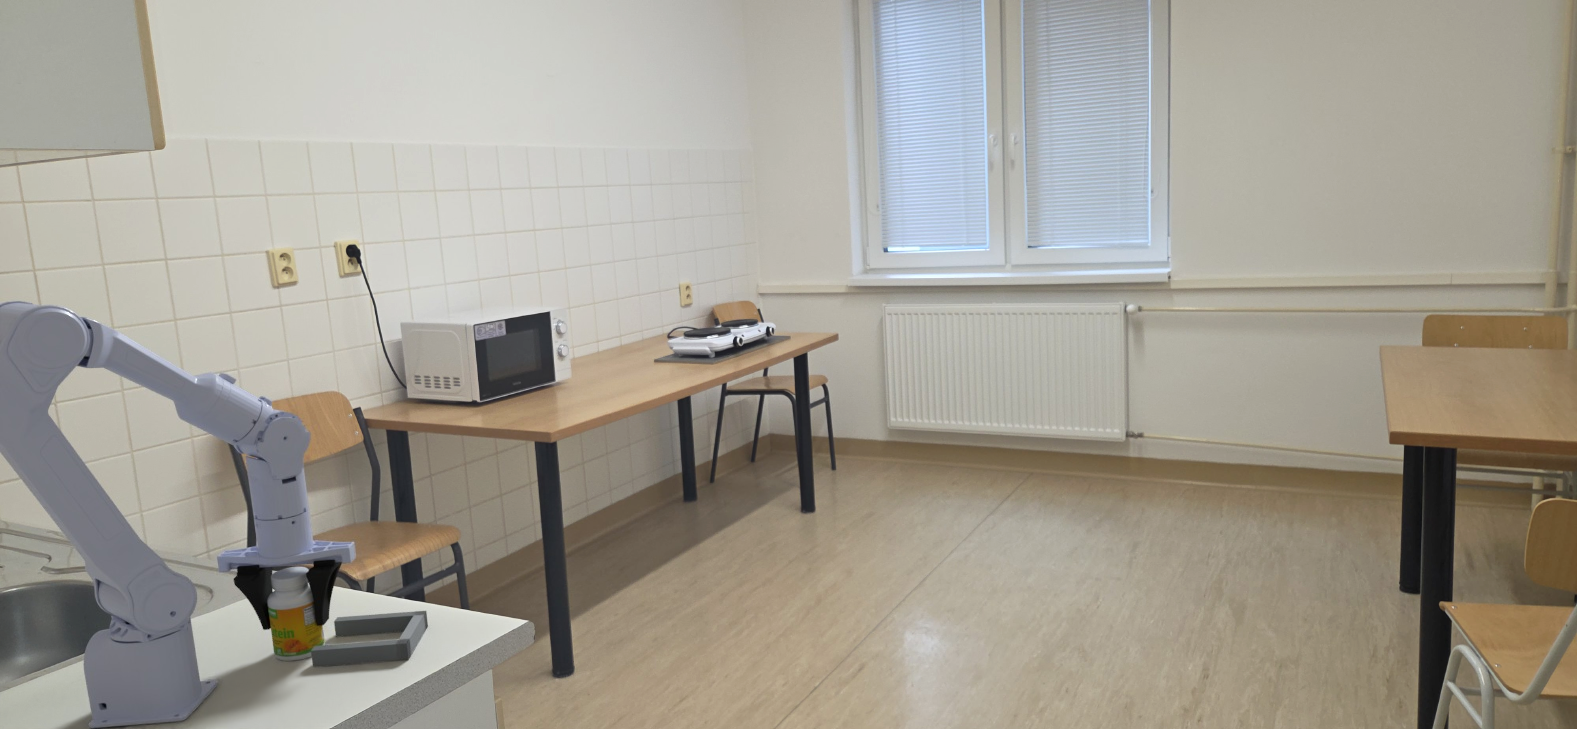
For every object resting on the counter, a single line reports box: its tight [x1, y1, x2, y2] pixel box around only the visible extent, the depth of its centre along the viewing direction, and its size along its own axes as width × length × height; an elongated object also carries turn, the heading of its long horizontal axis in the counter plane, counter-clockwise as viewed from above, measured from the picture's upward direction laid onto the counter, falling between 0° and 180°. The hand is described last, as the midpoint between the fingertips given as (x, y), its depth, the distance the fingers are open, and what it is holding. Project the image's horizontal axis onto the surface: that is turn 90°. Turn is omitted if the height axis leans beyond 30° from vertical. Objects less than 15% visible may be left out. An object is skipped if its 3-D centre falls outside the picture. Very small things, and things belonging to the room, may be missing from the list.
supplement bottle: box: [267, 566, 326, 662], centre depth 119 cm, size 5×5×10 cm
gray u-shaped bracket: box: [311, 610, 429, 668], centre depth 121 cm, size 10×9×2 cm
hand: (296, 624), depth 120 cm, fingers closed on supplement bottle, 5 cm apart
